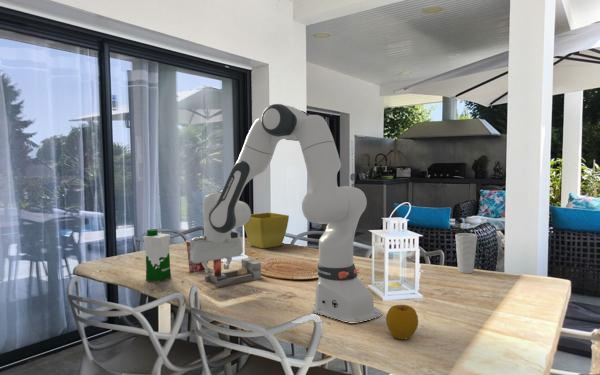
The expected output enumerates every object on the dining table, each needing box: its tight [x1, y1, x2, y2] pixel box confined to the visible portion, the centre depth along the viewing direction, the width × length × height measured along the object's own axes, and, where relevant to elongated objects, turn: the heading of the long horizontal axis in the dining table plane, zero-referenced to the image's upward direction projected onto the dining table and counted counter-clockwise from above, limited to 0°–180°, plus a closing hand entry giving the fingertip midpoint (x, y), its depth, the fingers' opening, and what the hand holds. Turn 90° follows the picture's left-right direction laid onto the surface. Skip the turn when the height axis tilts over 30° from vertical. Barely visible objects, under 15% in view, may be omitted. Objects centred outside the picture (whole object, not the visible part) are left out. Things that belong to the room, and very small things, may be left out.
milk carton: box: [142, 228, 172, 282], centre depth 177 cm, size 9×9×20 cm
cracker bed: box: [197, 257, 265, 291], centre depth 169 cm, size 14×22×8 cm, turn 126°
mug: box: [185, 238, 209, 273], centre depth 187 cm, size 13×9×14 cm
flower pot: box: [243, 212, 290, 249], centre depth 238 cm, size 19×19×17 cm
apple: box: [385, 304, 419, 340], centre depth 117 cm, size 8×8×9 cm
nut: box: [237, 266, 248, 276], centre depth 172 cm, size 4×4×4 cm
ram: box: [208, 259, 227, 284], centre depth 165 cm, size 7×4×9 cm, turn 36°
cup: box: [455, 232, 478, 274], centre depth 180 cm, size 8×8×16 cm
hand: (217, 270), depth 165 cm, fingers open, 6 cm apart
